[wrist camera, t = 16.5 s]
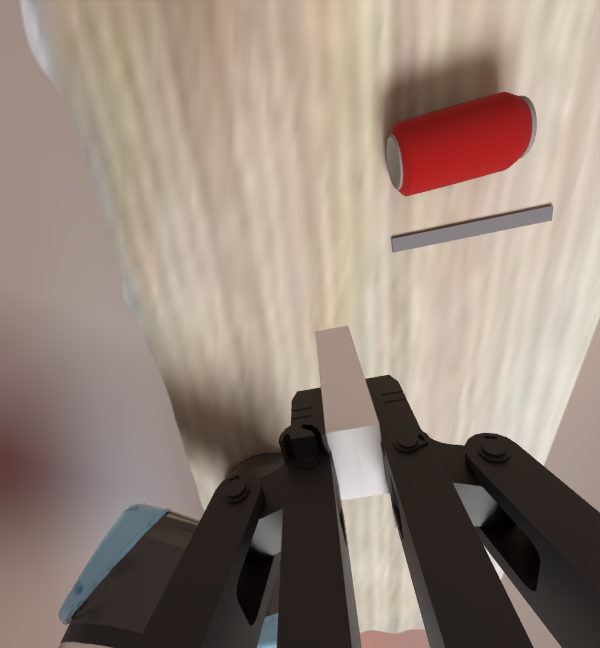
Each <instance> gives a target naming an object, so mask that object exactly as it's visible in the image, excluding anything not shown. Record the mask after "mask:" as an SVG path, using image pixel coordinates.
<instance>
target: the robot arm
mask: <svg viewBox="0 0 600 648" xmlns="http://www.w3.org/2000/svg"><path fill="white" fill-rule="evenodd" d="M315 333H316V343H317V352H318V362H319V372H320V382H321V388H315V389H310V390H304V391H298V392H297V393H296V395H295V396H294V398H293V400H292V408H291V411H292V412H291V426H289V427H288V428H286V429H285V430H284V431H283V433H282V434H281V435H280V438H279V445H280V448H281V451H282V455H281V454H263V455H258V456H254V457H251V458H249V459H247V460H245V461H243V462H242V463H240V464H239V465H238V466H237V467H236V468H235V469H234V470H233V471H232V473H231V475H230V476H229V477H227V478H226V479H225V480H224V481H222V482H221V484H220V485H219V486H218V488H217V489H216V491H215V493H214V495H213V497H212V498H211V500H210V502H209V504H208V506H207V508H206V510H205V512H204V514H203V516H202V518H201V520H200V521H199V520H196V519H193V518H191V517H188V516H185V515H182V514H179V513H176V512H174V511H171V509H169V508H166V509H164V508H159V507H156V506H152V505H148V504H145V503H138V504H134V505H132V506H130V507H129V508H127V509H126V510H125V511H124V512H123V513H122V514H121V515H120V517H119V518H118V519H117V521H116V522H115V523H114V525H113V526H112V528H111V529H110V530H109V532H108V533H107V535H106V536H105V538H104V539H103V541H102V542H101V543H100V545H99V546H98V548H97V549H96V551H95V553H94V554H93V556H92V557H91V559H90V560H89V562H88V563H87V565H86V567H85V568H84V570H83V571H82V573H81V575H80V576H79V579H78V581H77V582H76V583H75V585H74V587H73V589H72V590H71V592H70V593H69V594H68V596H67V598H66V599H65V601H64V603H63V605H62V607H61V609H60V611H59V619H60V620H61V621H62V623H63V624H64V625H67V624H69V623H70V624H69V627H68V629H67V631H66V633H65V635H64V637H63V639H62V641H61V643H60V645H59V647H58V648H361V640H360V632H359V625H358V617H357V610H356V602H355V595H354V587H353V580H352V572H351V565H350V557H349V550H348V542H347V535H346V527H345V520H344V514H343V510H342V505H341V500H346V499H353V498H360V497H367V496H374V495H380V494H387V493H389V492H390V496H391V501H392V508H393V516H394V523H395V527H397V528H398V531H399V535H400V539H401V542H402V546H403V549H404V553H405V557H406V560H407V564H408V568H409V571H410V575H411V579H412V582H413V586H414V590H415V593H416V597H417V601H418V604H419V608H420V612H421V615H422V619H423V623H424V626H425V630H426V633H427V637H428V641H429V645H430V648H533V646H532V644H531V642H530V640H529V637H528V635H527V633H526V631H525V629H524V627H523V626H522V623H521V621H520V619H519V617H518V615H517V613H516V611H515V609H514V607H513V605H512V603H511V601H510V599H509V597H508V595H507V593H506V591H505V589H504V586H503V584H502V582H501V580H500V578H499V576H498V574H497V572H496V570H495V568H494V566H493V564H492V562H491V560H490V558H489V556H488V554H487V552H486V550H485V548H486V549H487V550H488V551H489V553H490V554H491V555H492V557H493V558H494V559H495V561H496V562H497V563H498V565H499V566H500V567H501V568H502V570H503V571H504V572H505V574H506V575H507V576H508V578H509V579H510V580H511V582H512V583H513V584H514V585H515V587H516V588H517V589H518V591H519V592H520V593H521V595H522V596H523V597H524V599H525V600H526V601H527V602H528V604H529V605H530V606H531V608H532V609H533V610H534V612H535V613H536V614H537V616H538V617H539V618H540V619H541V621H542V622H543V623H544V625H545V626H546V627H547V629H548V630H549V631H550V632H551V634H552V635H553V636H554V638H555V639H556V640H557V642H558V643H559V644H560V645H561V647H562V648H600V513H599V512H598V511H597V510H596V509H595V508H593V507H592V506H591V505H590V504H588V503H587V502H586V501H585V500H584V499H582V498H581V497H580V496H579V495H577V494H576V493H575V492H574V491H573V490H572V489H570V488H569V487H568V486H567V485H565V484H564V483H563V482H562V481H561V480H560V479H558V478H557V477H556V476H555V475H553V474H552V473H551V472H550V471H549V470H547V469H546V468H545V467H544V466H543V465H542V464H540V463H539V462H538V461H537V460H536V459H534V458H533V457H532V456H531V455H530V454H528V453H527V452H526V451H525V450H524V449H522V448H521V447H520V446H519V445H518V444H516V443H515V442H513V441H512V440H510V439H508V438H507V437H504V436H501V435H498V434H493V433H481V434H476V435H474V436H472V437H471V438H469V439H468V440H467V442H466V444H465V446H463V445H452V444H445V443H441V442H438V441H435V440H433V439H431V438H430V437H429V436H428V435H427V434H426V433H425V432H423V431H422V430H421V428H420V427H419V424H418V422H417V420H416V418H415V416H414V414H413V412H412V410H411V408H410V405H409V403H408V401H407V400H406V397H405V395H404V393H403V391H402V388H401V386H400V384H399V382H398V381H397V380H395V379H394V378H393V377H391V376H390V375H385V376H379V377H374V378H368V379H365V378H364V374H363V371H362V368H361V365H360V362H359V359H358V356H357V352H356V349H355V346H354V343H353V340H352V337H351V333H350V330H349V327H348V326H343V327H337V328H332V329H327V330H321V331H316V332H315ZM483 545H484V546H485V548H484V546H483Z"/></svg>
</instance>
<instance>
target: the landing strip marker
mask: <svg viewBox="0 0 600 648" xmlns="http://www.w3.org/2000/svg"><path fill="white" fill-rule="evenodd" d="M552 213H553V206H547V207H542V208H537V209H532V210H527V211H522V212H518V213H513V214H508V215H503V216H498V217H493V218H488V219H484V220H479V221H474V222H469V223H464V224H459V225H454V226H450V227H445V228H440V229H435V230H430V231H425V232H420V233H416V234H411V235H406V236H401V237H396V238H391V239H392V250H393V252H398V251H403V250H408V249H413V248H418V247H423V246H427V245H432V244H437V243H442V242H447V241H452V240H457V239H462V238H467V237H472V236H477V235H482V234H487V233H492V232H497V231H501V230H506V229H511V228H516V227H521V226H526V225H531V224H536V223H541V222H546V221H551V220H552Z"/></svg>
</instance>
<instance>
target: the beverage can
mask: <svg viewBox="0 0 600 648" xmlns="http://www.w3.org/2000/svg"><path fill="white" fill-rule="evenodd" d="M536 129H537V118H536V112H535V108H534V106H533V104H532V102H531V101H530V99H529V98H527V97H526V96H516V95H513V94H510V93H507V92H501V93H497V94H494V95H490V96H487V97H483V98H479V99H476V100H472V101H469V102H465V103H462V104H458V105H455V106H452V107H448V108H445V109H441V110H438V111H435V112H431V113H428V114H424V115H421V116H418V117H415V118H411V119H408V120H405V121H402V122H398V123H396V124H395V125H394V127H393V129H392V131H391V134H390V136H389V137H388V139H387V145H386V158H387V166H388V171H389V176H390V179H391V182H392V184H393V186H394V187H395V188H396V189H397V190H398V191H399V192H400V193H401V194H402V195H404V196H410V195H414V194H417V193H421V192H425V191H429V190H433V189H437V188H441V187H445V186H448V185H452V184H456V183H460V182H463V181H467V180H471V179H474V178H478V177H482V176H485V175H489V174H492V173H496V172H500V171H503V170H506V169H507V168H509V167H510V166H511V165H513V164H514V163H515V162H516V161H517V160H518V159H520V158H522V157H524V156H525V155H526V154H527V153H528V152H529V150H530V149H531V147H532V145H533V142H534V139H535V135H536Z"/></svg>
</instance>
